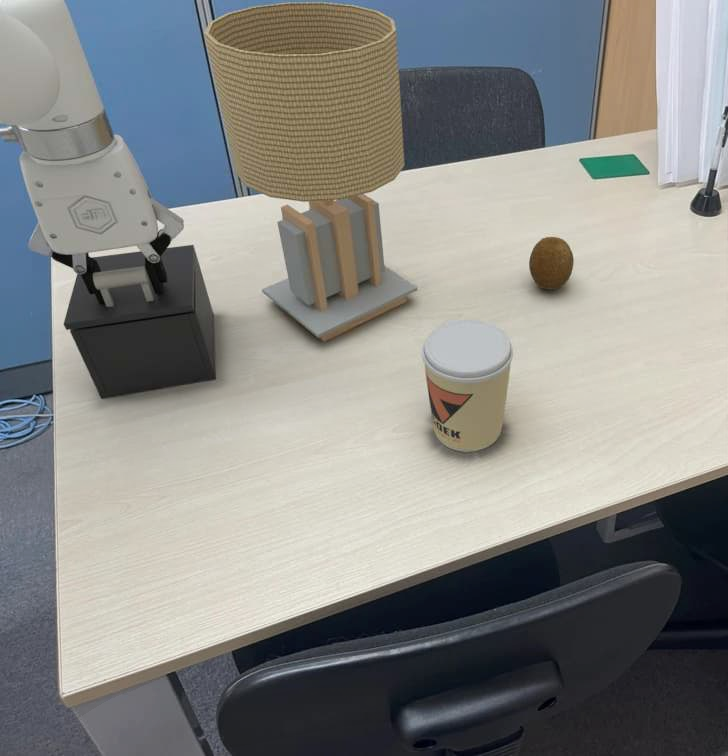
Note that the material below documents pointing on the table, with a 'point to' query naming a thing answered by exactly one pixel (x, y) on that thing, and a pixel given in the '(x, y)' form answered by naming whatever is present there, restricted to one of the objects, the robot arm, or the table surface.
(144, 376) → the dark grey hollow box
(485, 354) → the coffee cup
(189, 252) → the lid
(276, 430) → the table surface
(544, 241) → the fruit
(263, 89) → the desk lamp
